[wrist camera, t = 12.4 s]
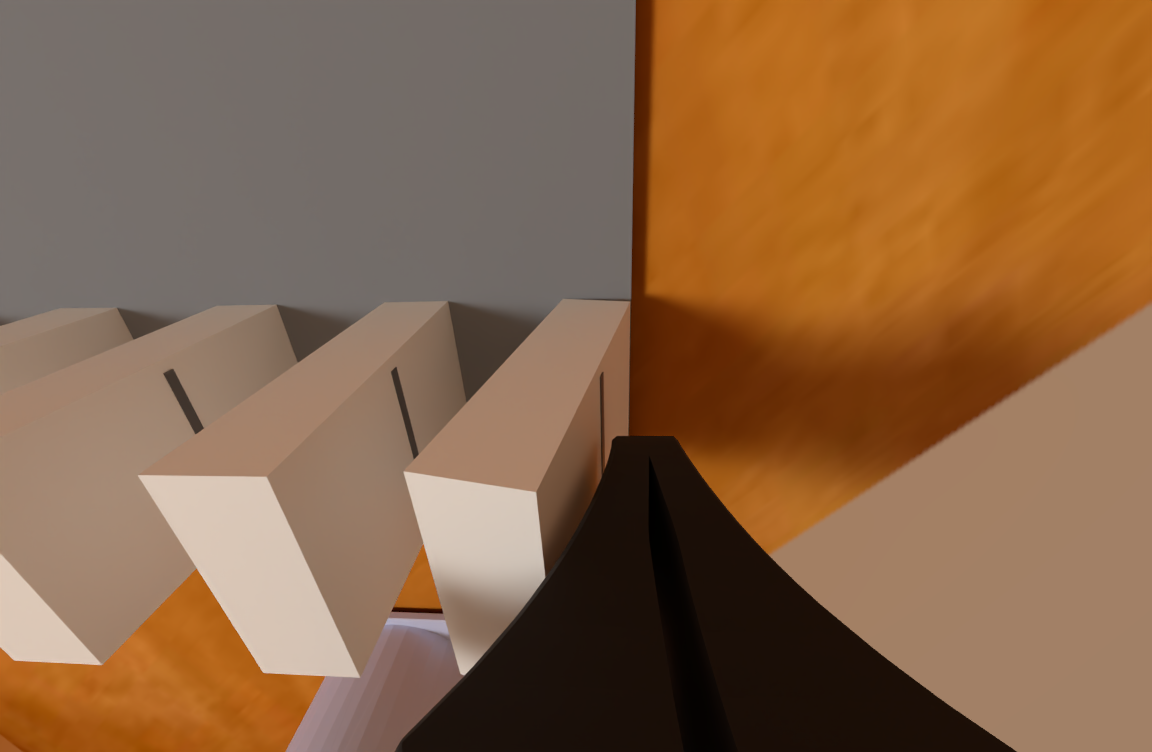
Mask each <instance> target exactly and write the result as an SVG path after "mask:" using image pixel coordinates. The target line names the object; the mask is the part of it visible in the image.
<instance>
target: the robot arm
mask: <svg viewBox="0 0 1152 752" xmlns="http://www.w3.org/2000/svg"><path fill="white" fill-rule="evenodd" d="M286 752H1016V751H1015V750H1013V749H1012V748H1011V747H1009V746H1008V745H1006V744H1005V743H1003V742H1002V741H1000V740H999V739H997V738H996V737H995V736H993V735H992V734H990V733H989V732H987V731H986V730H984V729H983V728H981V727H980V726H978V725H977V724H976V723H974V722H972V721H971V720H970V719H968V718H966V717H965V716H964V715H962V714H961V713H959V712H958V711H956V710H955V709H953V708H952V707H951V706H949V705H948V704H946V703H945V702H944V701H942V700H941V699H939V698H938V697H937V696H935V695H934V694H933V693H931V692H930V691H929V690H927V689H926V688H925V687H923V686H922V685H921V684H919V683H918V682H917V681H915V680H914V679H913V678H911V677H910V676H909V675H907V674H906V673H904V672H903V671H902V670H901V669H899V668H898V667H897V666H895V665H894V664H893V663H891V662H890V661H889V660H887V659H886V658H885V657H884V656H882V655H881V654H880V653H878V652H877V651H876V650H875V649H873V648H872V647H871V646H870V645H868V644H867V643H866V642H865V641H864V640H862V639H861V638H860V637H859V636H858V635H856V634H855V633H854V632H853V631H852V630H850V629H849V628H848V627H847V626H846V625H844V624H843V623H842V622H841V621H840V620H838V619H837V618H836V617H835V616H833V615H832V614H831V613H830V612H829V611H828V610H826V609H825V608H824V607H823V606H822V605H820V604H819V603H818V602H817V601H816V600H815V599H814V598H813V597H812V596H810V595H809V594H808V593H807V592H806V591H805V590H804V589H803V588H802V587H801V586H799V585H798V584H797V583H796V582H795V581H794V580H793V579H792V578H791V577H790V576H789V575H788V574H787V573H786V572H785V571H784V570H783V569H782V568H781V567H780V566H779V565H778V564H777V563H776V562H775V561H774V560H773V559H772V558H771V557H770V556H769V555H768V554H767V553H766V552H765V551H764V550H763V549H762V548H761V547H760V546H759V545H758V544H757V543H756V542H755V540H754V539H753V538H752V537H751V536H750V535H749V534H748V533H747V532H746V530H745V529H744V528H743V527H742V526H741V525H740V524H739V523H738V521H737V520H736V519H735V518H734V517H733V516H732V514H731V513H730V512H729V511H728V510H727V508H726V507H725V506H724V505H723V503H722V502H721V501H720V500H719V498H718V497H717V496H716V495H715V493H714V492H713V491H712V489H711V488H710V487H709V486H708V484H707V483H706V482H705V480H704V479H703V478H702V476H701V475H700V473H699V472H698V471H697V469H696V468H695V466H694V465H693V464H692V462H691V461H690V459H689V458H688V456H687V455H686V453H685V452H684V450H683V448H682V447H681V445H680V443H679V442H678V440H677V439H676V438H675V437H674V436H616V437H615V438H614V439H613V440H612V444H611V450H610V454H609V458H608V461H607V464H606V467H605V470H604V473H603V475H602V478H601V480H600V482H599V485H598V487H597V489H596V491H595V494H594V496H593V498H592V500H591V502H590V504H589V506H588V508H587V510H586V512H585V514H584V516H583V518H582V519H581V521H580V523H579V525H578V527H577V529H576V531H575V532H574V534H573V536H572V538H571V539H570V541H569V543H568V544H567V546H566V547H565V549H564V551H563V552H562V554H561V555H560V557H559V558H558V560H557V561H556V563H555V564H554V566H553V567H552V569H551V570H550V572H549V573H548V575H547V576H546V578H545V579H544V580H543V582H542V583H541V584H540V586H539V587H538V588H537V590H536V591H535V593H534V594H533V595H532V597H531V598H530V599H529V601H528V602H527V603H526V605H525V606H524V607H523V608H522V610H521V611H520V612H519V614H518V615H517V616H516V617H515V618H514V620H513V621H512V622H511V623H510V624H509V626H508V627H507V628H506V629H505V630H504V631H503V632H502V634H501V635H500V636H499V637H498V638H497V639H496V641H495V642H494V643H493V644H492V645H491V646H490V648H489V649H488V650H487V651H486V652H485V653H484V654H483V656H482V657H481V658H480V659H479V660H478V661H477V663H476V664H475V665H474V666H473V667H472V668H471V669H470V670H469V671H468V672H467V673H466V674H465V675H462V674H460V671H459V667H458V664H457V660H456V656H455V653H454V649H453V646H452V642H451V639H450V635H449V632H448V628H447V625H446V621H445V617H444V614H438V613H411V612H391V613H390V615H389V617H388V619H387V622H386V624H385V626H384V628H383V630H382V632H381V634H380V637H379V639H378V641H377V643H376V645H375V647H374V649H373V652H372V654H371V656H370V658H369V660H368V662H367V664H366V667H365V669H364V671H363V673H362V675H361V677H360V678H356V677H336V676H326V677H325V679H324V681H323V682H322V684H321V686H320V688H319V690H318V692H317V694H316V696H315V697H314V699H313V701H312V703H311V705H310V707H309V709H308V711H307V712H306V714H305V716H304V718H303V720H302V722H301V724H300V726H299V727H298V729H297V731H296V733H295V735H294V737H293V739H292V741H291V742H290V744H289V746H288V748H287V750H286Z"/></svg>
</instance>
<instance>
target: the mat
mask: <svg viewBox="0 0 1152 752" xmlns="http://www.w3.org/2000/svg"><path fill="white" fill-rule="evenodd" d="M635 19H636V0H0V326H2V325H5V324H9V323H12V322H15V321H19V320H22V319H25V318H29V317H32V316H35V315H39V314H42V313H46V312H49V311H52V310H56V309H59V308H117V309H118V311H119V313H120V315H121V317H122V319H123V320H124V322H125V324H126V326H127V328H128V330H129V332H130V334H131V335H132V337H133V339H137V338H139V337H142V336H144V335H147V334H149V333H152V332H154V331H156V330H159V329H161V328H164V327H166V326H169V325H171V324H173V323H176V322H178V321H181V320H183V319H186V318H188V317H191V316H193V315H195V314H198V313H200V312H203V311H205V310H208V309H210V308H212V307H215V306H231V305H277V308H278V310H279V313H280V316H281V318H282V321H283V324H284V327H285V329H286V332H287V335H288V337H289V340H290V343H291V346H292V348H293V351H294V354H295V356H296V359H297V362H300V361H301V360H303V359H304V358H306V357H307V356H308V355H310V354H311V353H313V352H314V351H316V350H317V349H318V348H320V347H321V346H323V345H324V344H326V343H327V342H328V341H330V340H331V339H333V338H334V337H336V336H337V335H338V334H340V333H341V332H343V331H344V330H346V329H347V328H348V327H350V326H351V325H353V324H354V323H356V322H357V321H358V320H360V319H361V318H363V317H364V316H366V315H367V314H368V313H370V312H371V311H373V310H374V309H376V308H377V307H378V306H380V305H381V304H383V303H384V302H428V301H448V304H449V309H450V315H451V320H452V326H453V331H454V337H455V342H456V348H457V353H458V359H459V364H460V370H461V375H462V381H463V386H464V392H465V397H466V403H467V402H468V401H469V400H470V399H471V398H472V397H473V395H474V394H475V393H476V392H477V391H478V390H479V389H480V388H481V387H482V386H483V385H484V384H485V383H486V381H487V380H488V379H489V378H490V377H491V376H492V375H493V374H494V373H495V372H496V371H497V370H498V369H499V367H500V366H501V365H502V364H503V363H504V362H505V361H506V360H507V359H508V358H509V357H510V356H511V354H512V353H513V352H514V351H515V350H516V349H517V348H518V347H519V346H520V345H521V344H522V343H523V342H524V340H525V339H526V338H527V337H528V336H529V335H530V334H531V333H532V332H533V331H534V330H535V329H536V327H537V326H538V325H539V324H540V323H541V322H542V321H543V320H544V319H545V318H546V317H547V316H548V315H549V313H550V312H551V311H552V310H553V309H554V308H555V307H556V306H557V305H558V304H559V303H560V302H561V301H562V299H581V300H605V301H629V302H630V338H631V274H632V210H633V146H634V83H635ZM629 401H630V361H629ZM628 436H629V428H628Z"/></svg>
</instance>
